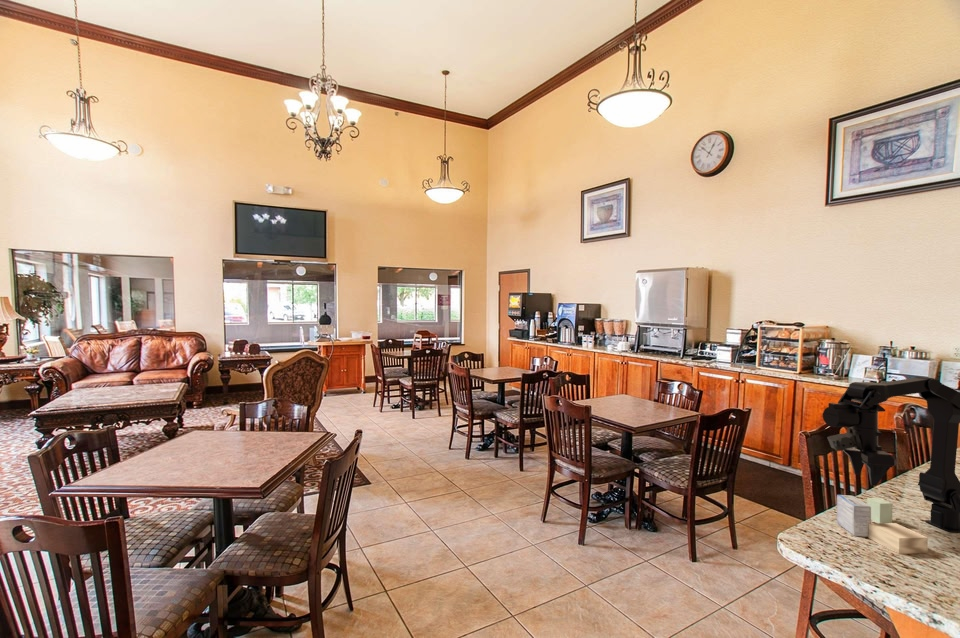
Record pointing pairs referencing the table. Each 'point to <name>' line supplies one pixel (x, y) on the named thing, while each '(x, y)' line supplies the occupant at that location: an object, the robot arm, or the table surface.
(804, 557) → the table surface
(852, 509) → the medicine box
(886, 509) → the sage block
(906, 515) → the table surface
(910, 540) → the beech slab
